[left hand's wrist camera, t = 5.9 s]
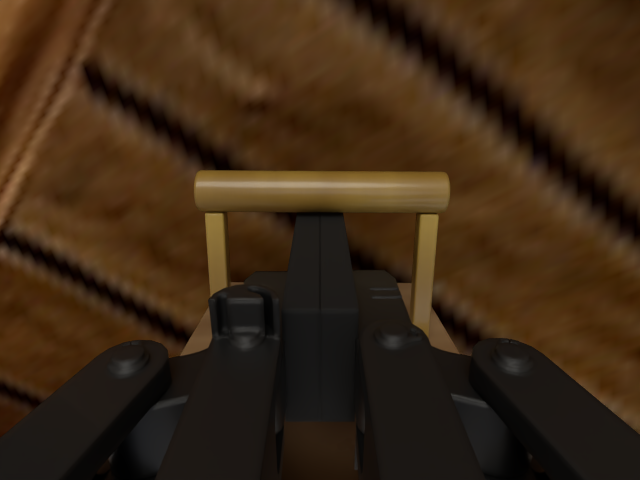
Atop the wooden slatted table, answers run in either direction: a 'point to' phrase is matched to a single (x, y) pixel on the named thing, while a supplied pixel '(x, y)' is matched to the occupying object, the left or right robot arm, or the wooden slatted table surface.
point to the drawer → (325, 196)
